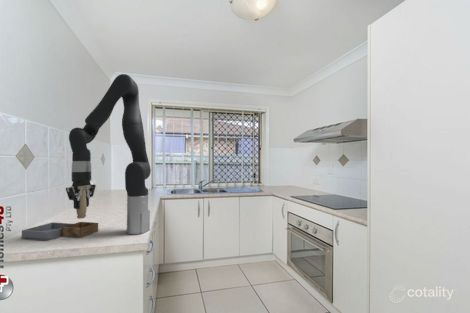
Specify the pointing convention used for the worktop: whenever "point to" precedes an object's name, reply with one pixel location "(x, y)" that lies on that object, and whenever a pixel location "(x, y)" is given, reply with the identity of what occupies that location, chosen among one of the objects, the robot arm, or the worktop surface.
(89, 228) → the brown wooden box
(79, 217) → the handle
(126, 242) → the worktop surface
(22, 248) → the worktop surface
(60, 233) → the tray
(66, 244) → the worktop surface
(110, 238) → the worktop surface
